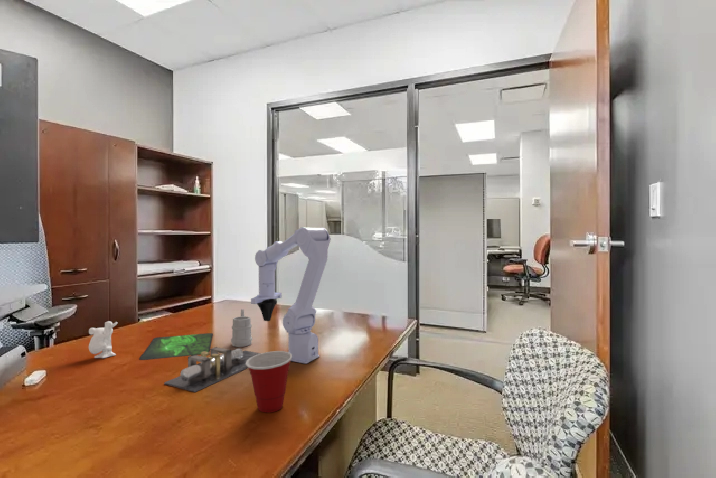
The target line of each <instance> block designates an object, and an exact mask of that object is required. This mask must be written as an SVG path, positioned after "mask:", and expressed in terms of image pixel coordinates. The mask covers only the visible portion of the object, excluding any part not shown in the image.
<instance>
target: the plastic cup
mask: <svg viewBox="0 0 716 478" xmlns="http://www.w3.org/2000/svg"><path fill="white" fill-rule="evenodd" d="M291 359H292V354H291V353H289V352H288V351H286V350H285V351H284V350H274V351H267V352H261V354H258V355H255V356H253V357H251V358H249V359H248V360H247V361H246V365H247V367H248V368H247V369H248V370H249V372H250V376H251V380H252V385H253V392H254V396H255V400H256V406H257V409H258V411H259V412H262V413H265V414H266V413H273V412H274V413H275V412H277V411H279V410H281V409H282V408H283V405H284V401H285V394H286V391H287V390H286V389H287V382H288V375H289V374H288V373H289V371H290V364H291V362H292V361H291Z"/></svg>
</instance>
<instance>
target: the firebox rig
mask: <svg viewBox="0 0 716 478" xmlns="http://www.w3.org/2000/svg"><path fill="white" fill-rule="evenodd" d="M232 351H233V350H232V349H228V348H224V347H222V348H221V347H217V346H214V347H212V348H210V352H205V351H204V352H201V355H192V356H187V358H188V359H187V368H188V367H191V366H193V365H196V364H197V362H198V363H201V362H202V375H199V376H197V377H195V378H192V379H190V380H187V381H183V380H182V378H181V375H178V376H177V377H175V378H171V379H168V380H167V381H165V382H164V383H163V384H164V385H166V386H169V387H174V388H177V389H181V390H185V391H189V392H192V393H197V392H198V391H201V390H203V389H205V388H207V387H209V386H212V385H214V384H216V383H219V382H221V381H222V380H224V379H227V378H229V377H231V376H233V375H235V374H238V373H240V372H242V371H245V370H246V369H249V368H248V367H247V365H246V361H247V360H248V359H249V358H251V357H253V356H255V355H258V354H261V353H262V352H261V353H260V352H255V351H250V350H242V351H243V357H242V358H240V359H238V360H235V361H233V362H232ZM222 354H224V365H223V366H221V367H220V355H222ZM207 356H208V357H209V356H210V357H212V358H214V357H215V369H214V370H211V371H210V358H207Z"/></svg>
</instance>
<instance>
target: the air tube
mask: <svg viewBox="0 0 716 478" xmlns="http://www.w3.org/2000/svg"><path fill="white" fill-rule="evenodd" d="M243 351H244V350H243V349H242V348H241V347H238V348H236V349H233V350H232V362H233V361H235V360H238V359H240V358H242V357H243ZM206 357H207V356H206ZM207 358H210V371H211V370H214V369H215V357H214V358H212V357H211V356H208V357H207ZM223 365H224V354H222V353H221V354H220V367H221V366H223ZM199 375H202V362H198V363H196V365H193V366H191V367H188V366H187V367H186V368H183V369H182V370H181V371H180V376H181V378H182V380H183V381H187V380H190V379H192V378H195V377H197V376H199Z"/></svg>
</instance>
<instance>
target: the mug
mask: <svg viewBox="0 0 716 478" xmlns="http://www.w3.org/2000/svg"><path fill="white" fill-rule="evenodd" d="M251 318H252V317H251V316H246V315H245V309H244V308H241V309H240V316H235V317H233V318H232V325H231V330H232V331H231V332H232V334H231V339H230V342H231V346H232V347H236V348H237V347H238V348H243V347H247V346H251V345H252V341H253V337H252V323H251V322H252V321H251V320H252V319H251Z"/></svg>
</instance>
